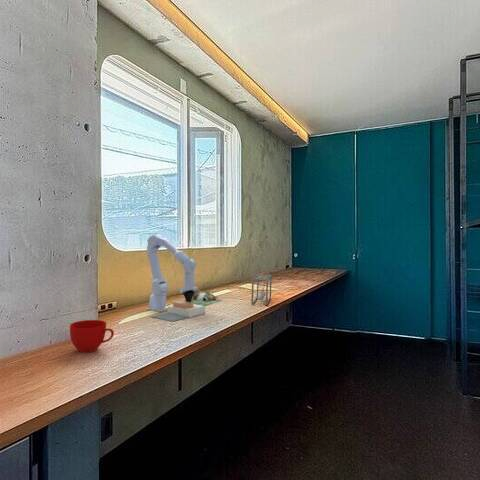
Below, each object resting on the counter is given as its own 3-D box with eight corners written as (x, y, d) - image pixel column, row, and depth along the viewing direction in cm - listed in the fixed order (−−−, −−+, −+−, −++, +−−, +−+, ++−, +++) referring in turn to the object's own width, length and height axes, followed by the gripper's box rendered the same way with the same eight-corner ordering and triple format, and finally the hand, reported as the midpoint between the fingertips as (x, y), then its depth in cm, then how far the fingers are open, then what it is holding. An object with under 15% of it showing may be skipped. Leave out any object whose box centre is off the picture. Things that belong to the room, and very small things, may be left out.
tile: (172, 306, 207) (173, 302, 207) (181, 304, 213) (181, 300, 213) (185, 309, 202) (185, 304, 202) (193, 307, 208) (193, 302, 208)
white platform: (167, 313, 208) (167, 306, 208) (183, 309, 220) (183, 302, 220) (188, 317, 200) (189, 310, 200) (204, 313, 212) (205, 306, 211)
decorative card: (201, 286, 265) (225, 289, 256) (201, 297, 265) (225, 300, 256) (174, 292, 236) (200, 296, 227) (173, 304, 236) (200, 308, 227)
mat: (150, 317, 198) (150, 316, 198) (166, 313, 208) (166, 312, 208) (173, 321, 189) (173, 320, 189) (188, 317, 199) (188, 316, 199)
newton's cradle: (267, 306, 237) (268, 279, 236) (251, 305, 238) (252, 278, 238) (271, 298, 266) (271, 274, 266) (256, 297, 268) (257, 273, 268)
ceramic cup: (103, 357, 133) (104, 330, 133) (61, 353, 136) (62, 326, 136) (121, 347, 146) (121, 322, 146) (82, 343, 149) (83, 318, 149)
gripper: (186, 282, 203) (185, 306, 203) (202, 279, 215) (201, 302, 215) (176, 280, 206) (175, 304, 207) (193, 278, 219) (192, 301, 219)
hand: (188, 303), depth 211 cm, fingers closed
